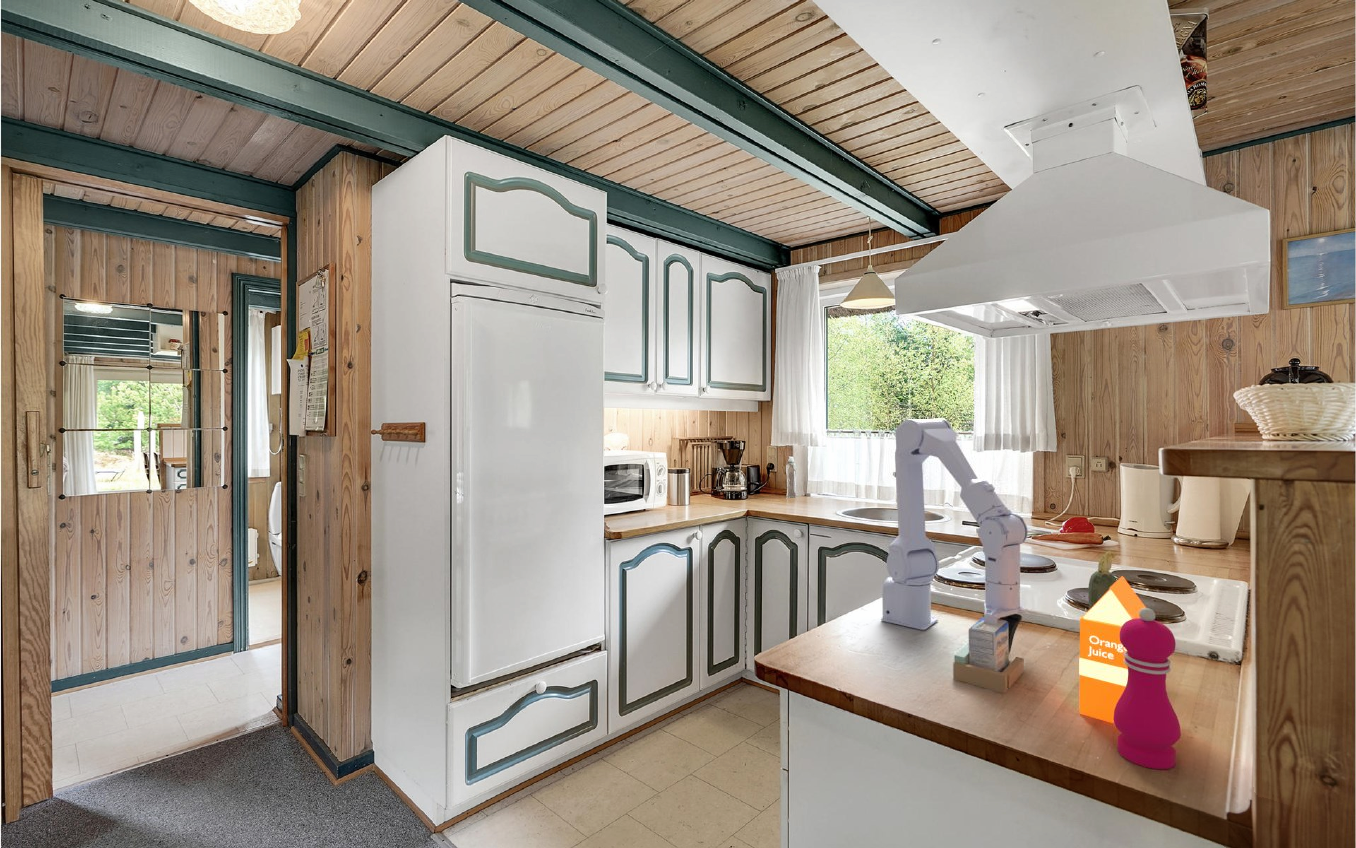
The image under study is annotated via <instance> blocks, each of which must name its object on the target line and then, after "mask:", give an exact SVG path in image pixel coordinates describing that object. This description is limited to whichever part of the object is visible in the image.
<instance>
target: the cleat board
mask: <svg viewBox="0 0 1356 848" xmlns="http://www.w3.org/2000/svg"><path fill="white" fill-rule="evenodd" d="M953 659H954V661H953V663H952V671H953V672H952V675H953V677H952V679H953V680H955V681H958V682H962V683H966V684H969V685H974V686H978V687H981V688H983V689H987V690H992V691H995V692H999V693H1003V694H1006V693H1007V691H1008V689H1010V688H1011V687H1012V685H1014V683H1015V682H1016V681H1017V680H1018V679H1019V677H1020V676H1021V675H1022V674H1023V673H1024V671H1025V661H1024V660H1025V658H1022V657H1018V656H1016V657H1014V659H1013V660H1012V661H1011V662H1009V665H1008V667H1007V668H1006V669H1005V670H1004V671H1003V672H998V671H994V670H990V669H986V668H982V667H978V666H974V665H970V664H969V642H968V643H966V644H965V645H964V646H963V647H962V648H961V649H960V650H959V651H957V652H956V653H955V654H954V657H953Z"/></svg>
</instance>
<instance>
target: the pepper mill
mask: <svg viewBox="0 0 1356 848" xmlns="http://www.w3.org/2000/svg"><path fill="white" fill-rule="evenodd" d="M1139 616H1140V618H1134V619H1130V620H1128V621H1126V622H1125V623H1124V624H1123V625H1122V627H1121V629H1120V634H1119V637H1120V642H1121V644H1122V645H1123V646H1124V648H1125V649H1126V650H1127V651H1126V652H1124V657H1125V659H1124V663H1125V665H1127V667H1128V679H1127V684H1126V687H1125V689H1124V691H1123V693H1122V695H1121V697H1120V698H1119V700H1118V702H1117V704H1116V707H1115V709H1114V717H1113V720H1114V723H1113V724H1114V726H1115V727H1116V729H1117V730H1118V732H1119V733H1120V734H1119V735H1118V736H1117V752H1118V754H1120V755H1121V756H1122V758H1125V760H1127V761H1130V762H1131V763H1134V764H1136V765H1138V766H1140V767H1141V766H1142V767H1145V768H1148V769H1153V770H1168V769H1172V768H1173V767H1175V766H1176V764H1177V762H1176V761H1177V760H1176V755H1177V754H1176V749H1175V747H1174V745H1175V744H1177V743H1178V742H1179V741H1180V739H1181V735H1182V732H1181V724H1180V721H1179V719H1178V715H1177V714H1176V711H1175V710H1174V707H1173V705H1172V703H1171V701H1170V699H1169V696H1168V691H1167V674H1169V673H1170V672H1171V667H1170V665H1171V660H1170V659H1169V657H1170V656H1172V655H1173V653H1175V650H1176V646H1177V643H1176V638H1175V636H1174V634H1173V632H1172V630H1171V629H1170V628H1169V627H1167V626H1166V625H1165V624H1164V623H1162V622H1160V621H1157V620H1155V619H1156V613H1155V612H1154V610H1153V609H1151V608H1148V607H1146V608H1143V609H1141V610H1140V611H1139Z"/></svg>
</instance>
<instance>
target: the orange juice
mask: <svg viewBox="0 0 1356 848" xmlns="http://www.w3.org/2000/svg"><path fill="white" fill-rule="evenodd" d="M1116 580H1117V581H1116V582H1115V583H1114V584H1113V585H1112V586H1111V587H1110V590H1109V591H1108V592H1107V593H1106V594H1105V595H1104V596H1103V597H1102V598H1101V599H1100V600H1099V601H1098V602H1097V603H1096V604H1095V605H1094V606H1093V607H1092V608H1091V609H1090V610H1089V609H1088V611H1087V612H1085V614H1084V615H1083V616H1081V617H1080V618H1079V662H1078V663H1079V664H1078V666H1079V667H1078V669H1079V672H1078V675H1079V710H1078V711H1079V714H1081V715H1084V716H1087V717H1091V718H1093V719H1097V720H1101V721H1104V722H1107V723H1112V724H1114V720H1113V717H1114V709H1115V707H1116V704H1117V702H1118V700H1119V698H1120V697H1121V695H1122V693H1123V691H1124V689H1125V687H1126V684H1127V679H1128V667H1127V665H1125V663H1124V659H1125V657H1124V652H1126V651H1127V650H1126V649H1125V648H1124V646H1123V645H1122V644H1121V642H1120V637H1119V634H1120V629H1121V627H1122V625H1123V624H1124V623H1125V622H1126V621H1128V620H1130V619H1134V618H1140V616H1139V611H1140V610H1141V609H1143V608H1147V607H1146V606H1145V604H1144V603H1143V602H1142V600H1141V599H1140V597H1139V596H1138V595H1137V594H1136V592H1135V591H1134V589H1133V588H1132V586H1130V584H1129V583H1128V581H1127V580H1126V579H1125V577H1124V576H1123V575H1122V576H1121V577H1119V578H1118V579H1116Z"/></svg>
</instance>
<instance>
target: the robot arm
mask: <svg viewBox="0 0 1356 848" xmlns="http://www.w3.org/2000/svg"><path fill="white" fill-rule="evenodd" d="M894 433H895V452H894V463H895V482H896V483H895V484H896V503H897V504H896V506H897V507H896V508H897V526H898V535H897V537H895V539H894V540H893V541H892V542H891V543H890V544H889V545H888V555H887V559H886V570H887V572H888V574H889V577H887V578H886V579H885V581H884V582H883V586H882V597H881V598H882V617H881V618H880V620H881V621H882V622H886V623H890V624H895V625H899V626H903V627H908V628H912V629H917V630H919V631H920V630H921V631H925V630H927V629H929V628H930V627H931V626H932V625H934V624H935V623H937V622H938V621H939V618H938V617H935V616H932V615H931V614H932V611H931V607H932V606H931V605H932V604H931V602H932V601H931V599H932V598H931V597H932V594H931V591H932V589H931V583H932V582H934V576H936V575H937V574H938V572H939V569H940V560H939V558H938V556H937V553H936V548H935V547H936V546H935V543H934V542H933V541H932V540H930V538H928V537H927V536H926V535H927V533H926V513H925V512H926V511H925V497H924V496H925V494H924V492H925V491H924V475H923V474H924V473H923V472H924V471H923V463H924V462H925V461H926V460H927V459H928V458H929V457H930V456H931V457H935V458H938V459H939V460H940V462H941V463H942V464H943V466H944V468H945V469H946V470H947V471H948V472H949V474H950V475H951V476H952V478H953V479H954V480H955V482H956V483H958V485H959V486H960V488H961V489H960V494H959V496H960V499H961V501H962V502H963V504H964V505H965V507H966V508H967V509H968V511H969V513H970V514H971V516H972V517H973V518H974V520H975V522H976V523H977V524H978V526H979V529H977V530H976V531H977V536H978V538H979V541H980V543H981V544H982V553H983V554H984V564H985V565H984V589H985V590H984V599H985V600H984V601H983V608H984V613H983V615H982V618H983V617H984V623H990V624H995V625H996V624H997V620H998V619H1000V620H1004V621H1007V622H1008V637H1009V654H1010V653H1011V650H1012V646H1013V641H1014V637H1015V634H1016V631H1017V628H1018V626H1019V624H1020V622H1021V621H1022V618H1023V616H1022V615H1021V614H1026V613H1028V607H1026V606H1022V605H1021V545H1022V544H1023V543H1024V542H1025V541H1026V540H1027V538H1028V536H1029V535H1028V526H1027V524H1026V522H1025V520H1024V518H1023V517H1022V516H1021V515H1019V514H1017V513H1014V512H1012V511H1011V509H1008V507H1007V506H1006V505H1005V504H1004V502H1003V501H1002V500H1001V499H1000V497H999V495H998V494H997V493H996V491H995V487H994V485H993V484H991V483H989V481H987V480H984V479H980V478H978V477H977V475H976V473H975V472H974V470H973V468H972V467H971V464H970V463H969V461H968V459H967V458H966V456H965V454H964V453H963V451H962V450H961V448H960V446H959V444H958V443H957V432H956V431H955V430H954V429H953V428H952V425H951V423H950V422H949V421H948V420H947V419H945V418H944V417H943V418H942V417H938V418H927V419H925V418H924V419H923V418H922V419H912V418H908V419H904V420H903V421H902V422H901V423H900V424H899V425H898V426H897V428H896V429H895V432H894Z"/></svg>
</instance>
